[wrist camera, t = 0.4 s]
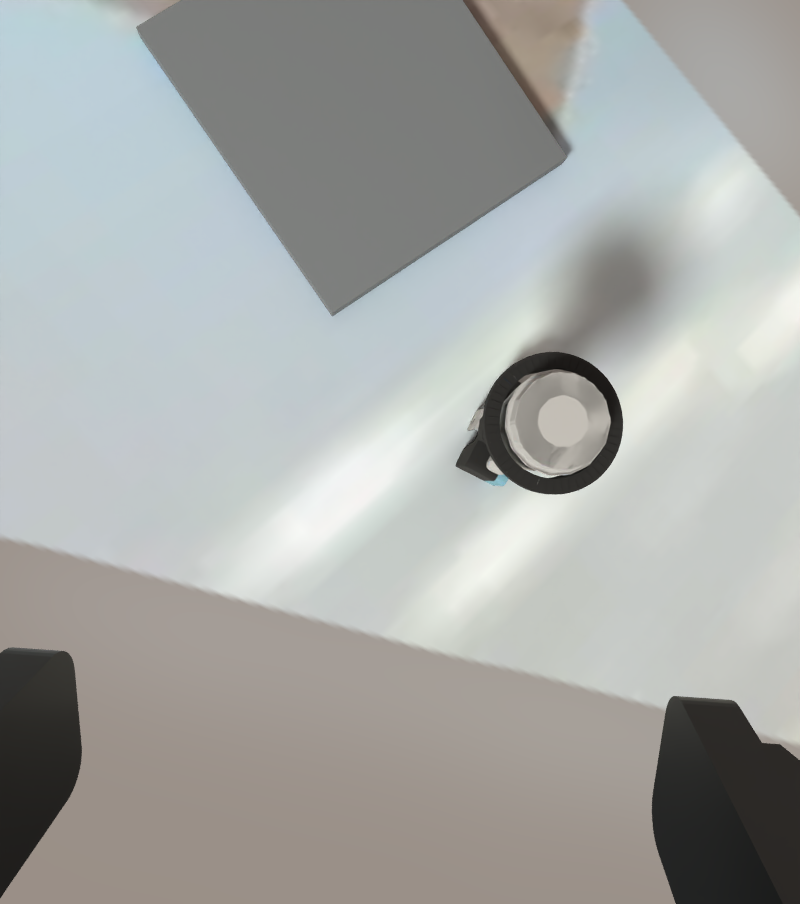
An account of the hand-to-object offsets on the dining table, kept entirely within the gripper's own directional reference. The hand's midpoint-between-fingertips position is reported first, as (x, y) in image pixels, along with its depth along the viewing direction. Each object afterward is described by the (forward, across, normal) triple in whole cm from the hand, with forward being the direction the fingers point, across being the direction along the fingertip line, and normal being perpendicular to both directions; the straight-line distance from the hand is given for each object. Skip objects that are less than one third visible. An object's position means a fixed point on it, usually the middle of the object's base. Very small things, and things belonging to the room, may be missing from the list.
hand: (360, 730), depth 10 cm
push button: (+28, -4, +2) cm, 28 cm away
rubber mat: (+31, +4, -13) cm, 34 cm away
